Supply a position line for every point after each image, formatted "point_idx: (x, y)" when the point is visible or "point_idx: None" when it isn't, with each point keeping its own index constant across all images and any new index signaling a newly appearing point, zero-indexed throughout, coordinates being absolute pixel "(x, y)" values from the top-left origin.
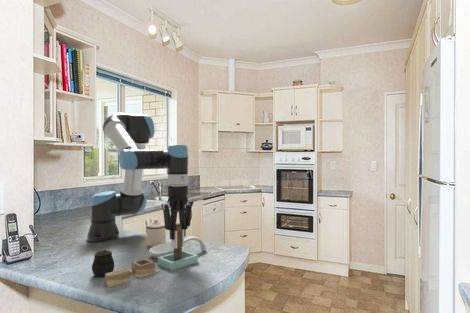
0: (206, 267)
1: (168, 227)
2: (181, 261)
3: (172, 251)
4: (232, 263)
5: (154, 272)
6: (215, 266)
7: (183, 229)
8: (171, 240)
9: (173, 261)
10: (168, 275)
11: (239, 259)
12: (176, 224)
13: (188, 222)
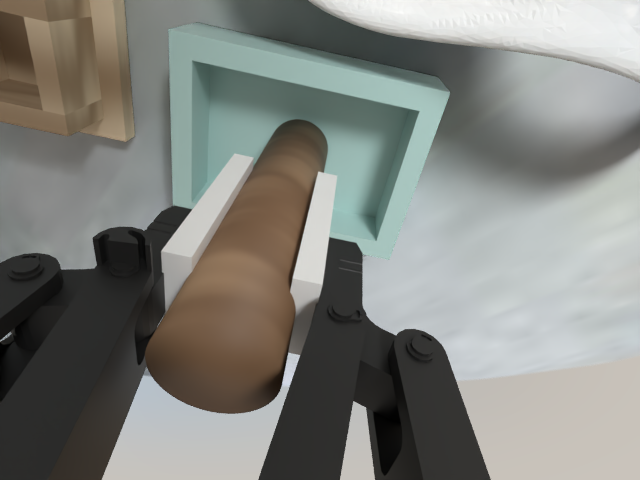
0: (365, 289)
1: (1, 358)
2: None
3: (363, 25)
4: (478, 354)
5: (95, 133)
6: (400, 315)
7: (298, 348)
8: (212, 183)
9: (304, 93)
10: (159, 200)
11: (552, 358)
12: (185, 367)
13: (382, 448)
